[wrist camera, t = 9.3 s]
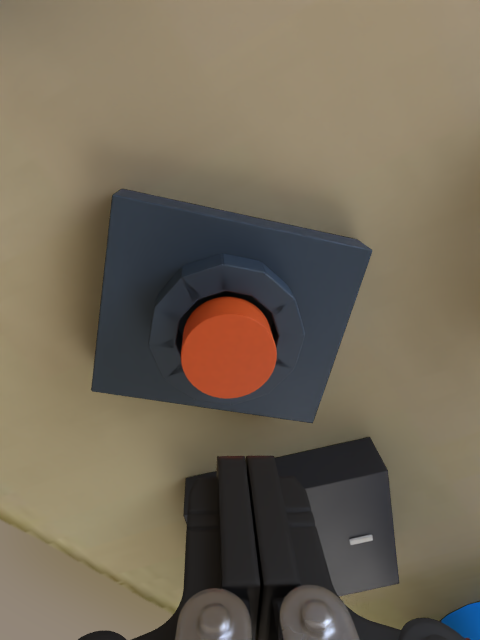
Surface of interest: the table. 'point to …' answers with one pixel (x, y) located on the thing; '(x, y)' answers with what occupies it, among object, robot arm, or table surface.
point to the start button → (228, 348)
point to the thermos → (465, 621)
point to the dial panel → (345, 511)
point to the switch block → (218, 281)
